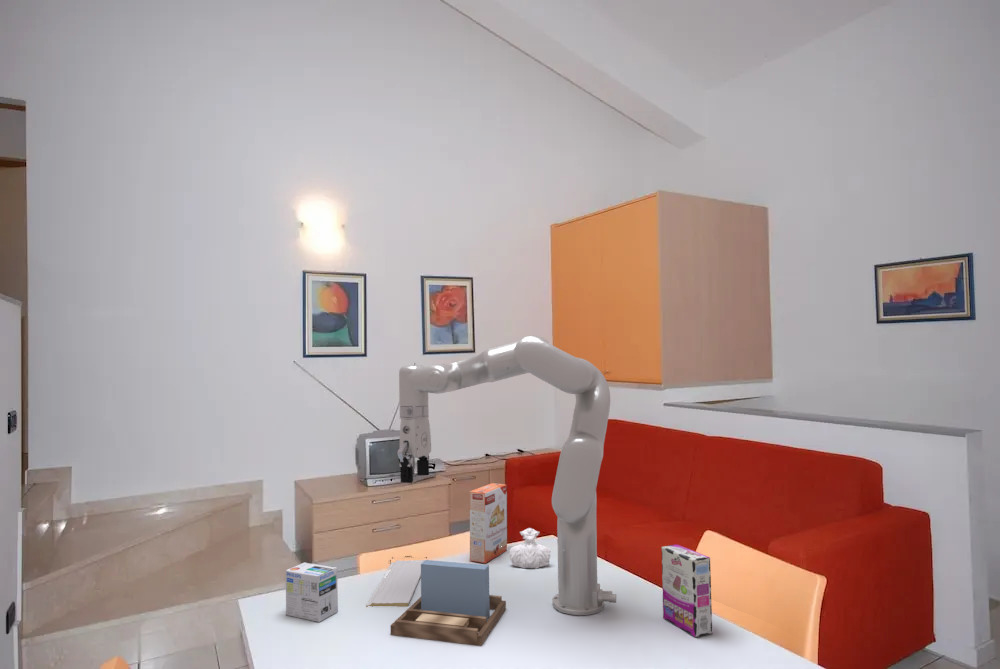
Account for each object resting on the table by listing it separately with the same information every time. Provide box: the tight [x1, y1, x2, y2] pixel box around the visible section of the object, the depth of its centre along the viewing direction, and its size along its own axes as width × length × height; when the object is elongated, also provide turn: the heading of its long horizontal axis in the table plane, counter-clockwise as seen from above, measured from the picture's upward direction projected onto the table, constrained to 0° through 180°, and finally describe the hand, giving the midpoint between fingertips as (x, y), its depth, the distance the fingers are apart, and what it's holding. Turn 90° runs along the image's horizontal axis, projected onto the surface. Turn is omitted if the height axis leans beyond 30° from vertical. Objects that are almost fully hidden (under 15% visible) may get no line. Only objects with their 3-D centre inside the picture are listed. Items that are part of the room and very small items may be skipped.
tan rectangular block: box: [415, 613, 469, 627], centre depth 132 cm, size 12×4×3 cm, turn 73°
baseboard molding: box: [365, 555, 428, 608], centre depth 163 cm, size 31×3×12 cm
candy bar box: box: [660, 544, 713, 638], centre depth 134 cm, size 11×5×16 cm, turn 23°
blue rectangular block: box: [420, 559, 491, 620], centre depth 141 cm, size 16×3×12 cm, turn 74°
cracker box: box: [469, 482, 508, 564], centre depth 184 cm, size 14×6×21 cm, turn 152°
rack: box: [389, 594, 507, 646], centre depth 138 cm, size 21×19×3 cm
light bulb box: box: [285, 562, 339, 623], centre depth 144 cm, size 11×7×11 cm, turn 65°
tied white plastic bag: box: [508, 527, 551, 569], centre depth 176 cm, size 12×8×11 cm
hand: (415, 478), depth 156 cm, fingers open, 9 cm apart
